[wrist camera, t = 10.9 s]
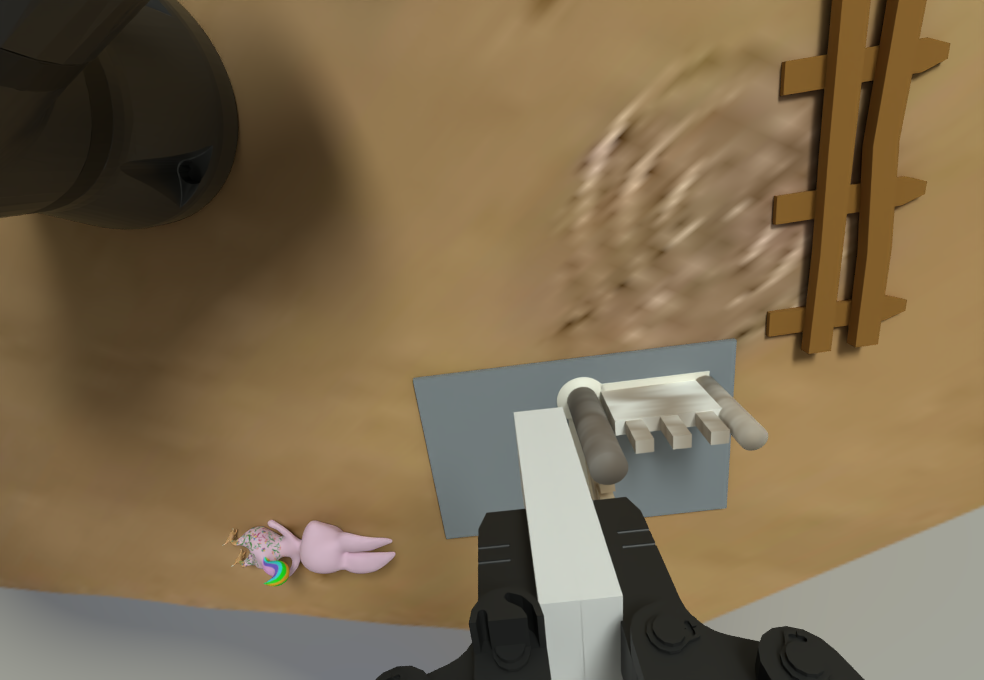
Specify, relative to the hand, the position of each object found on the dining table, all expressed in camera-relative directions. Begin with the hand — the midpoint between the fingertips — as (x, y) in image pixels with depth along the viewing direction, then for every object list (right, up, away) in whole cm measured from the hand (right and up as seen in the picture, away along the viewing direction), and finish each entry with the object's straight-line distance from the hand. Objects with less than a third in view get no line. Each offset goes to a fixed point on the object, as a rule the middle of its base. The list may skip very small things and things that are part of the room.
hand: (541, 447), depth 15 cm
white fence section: (+10, -1, +23) cm, 25 cm away
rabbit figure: (-17, -14, +28) cm, 36 cm away
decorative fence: (+23, +15, +18) cm, 33 cm away
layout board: (+6, -5, +25) cm, 26 cm away
